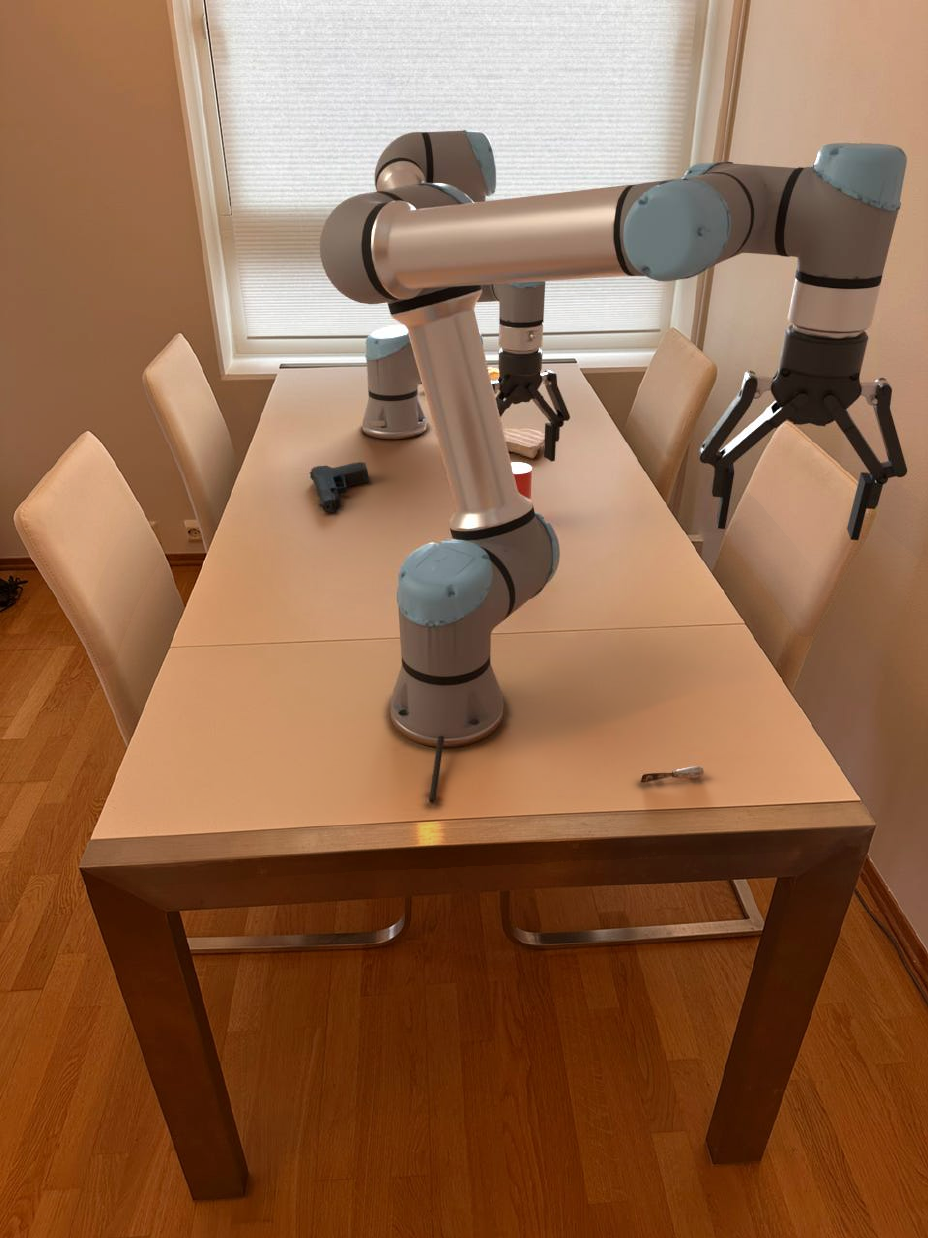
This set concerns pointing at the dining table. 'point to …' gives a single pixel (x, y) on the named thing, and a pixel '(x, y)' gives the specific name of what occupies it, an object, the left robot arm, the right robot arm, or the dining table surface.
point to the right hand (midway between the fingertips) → (785, 529)
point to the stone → (524, 441)
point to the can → (523, 478)
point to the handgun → (336, 482)
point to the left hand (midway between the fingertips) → (517, 465)
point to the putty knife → (674, 774)
